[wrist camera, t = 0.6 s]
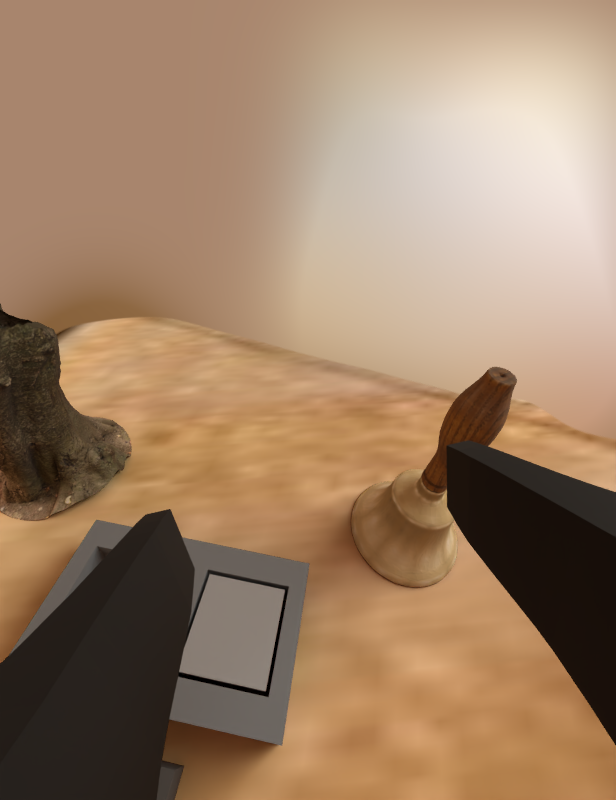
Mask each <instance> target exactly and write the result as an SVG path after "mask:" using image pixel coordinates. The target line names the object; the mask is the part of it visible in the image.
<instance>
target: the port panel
mask: <svg viewBox="0 0 616 800" xmlns="http://www.w3.org/2000/svg"><path fill="white" fill-rule="evenodd" d="M132 528H133V527H129V526H124V525H119V524H115V523H110V522H105V521H100V520H96V521H95V523H94V524H93V526H92V527H91V529H90V530H89V532H88V533H87V535H86V536H85V538H84V540H83V541H82V543H81V544H80V546H79V547H78V549H77V550H76V552H75V554H74V555H73V557H72V558H71V560H70V561H69V563H68V564H67V566H66V568H65V569H64V571H63V572H62V574H61V575H60V577H59V578H58V580H57V581H56V583H55V585H54V586H53V588H52V589H51V591H50V592H49V594H48V595H47V597H46V599H45V600H44V602H43V603H42V605H41V606H40V608H39V609H38V611H37V613H36V614H35V616H34V617H33V619H32V620H31V622H30V623H29V625H28V626H27V628H26V630H25V631H24V633H23V634H22V636H21V637H20V639H19V640H18V642H17V644H16V645H15V647H14V648H13V650H12V651H11V653H12V652H13V651H14V650H15V649H16V648H17V647H18V646H19V645H20V644H21V643H22V642H23V641H24V640H25V639H26V638H27V637H28V636H29V635H30V634H31V633H32V632H33V631H34V630H35V629H36V628H37V627H38V626H39V625H40V624H41V623H42V622H43V621H44V620H45V619H46V618H47V617H48V616H49V615H50V614H51V613H52V612H53V611H54V610H55V609H56V608H57V607H58V606H59V605H60V604H61V603H62V602H63V601H64V600H65V599H66V598H67V597H68V596H69V595H70V594H71V593H72V592H73V591H74V590H75V589H76V588H77V587H78V586H79V584H80V583H81V582H82V581H83V580H84V579H85V578H86V577H87V576H88V575H89V574H90V573H91V572H92V571H93V570H94V568H95V567H96V566H97V565H98V564H99V563H100V562H101V561H102V560H103V559H104V558H105V557H106V556H107V554H108V553H109V552H110V551H111V550H112V549H113V548H114V547H115V546H116V545H117V544H118V543H119V541H120V540H121V539H122V538H123V537H124V536H125V535H126V534H127V533H128V532H129V531H130V530H131V529H132ZM182 539H183V541H184V544H185V546H186V548H187V551H188V553H189V556H190V558H191V560H192V563H193V565H194V568H195V575H194V588H193V599H192V610H191V616H190V621H189V626H188V631H187V636H186V641H185V646H184V651H183V656H182V661H181V665H180V670H179V675H178V680H177V684H176V689H175V694H174V699H173V704H172V708H171V713H170V718H169V719H170V720H174V721H179V722H183V723H187V724H191V725H196V726H200V727H204V728H209V729H213V730H217V731H222V732H226V733H230V734H235V735H239V736H243V737H247V738H252V739H256V740H260V741H265V742H269V743H273V744H278V745H282V743H283V736H284V729H285V723H286V716H287V710H288V703H289V696H290V690H291V683H292V676H293V670H294V663H295V656H296V650H297V643H298V636H299V630H300V623H301V617H302V610H303V603H304V597H305V590H306V583H307V577H308V570H309V563H304V562H299V561H294V560H289V559H284V558H280V557H275V556H270V555H265V554H260V553H255V552H250V551H246V550H241V549H236V548H231V547H226V546H221V545H217V544H212V543H207V542H202V541H197V540H192V539H187V538H183V537H182ZM283 600H286V606H285V611H284V616H283V622H282V627H281V633H280V638H279V644H278V649H277V655H276V660H275V665H274V671H273V676H272V682H271V687H270V693H269V697H265V696H261V695H256V694H252V693H247V692H243V691H239V690H234V689H230V688H225V687H221V686H217V685H212V684H208V683H203V682H199V681H194V680H190V679H186V678H182V676H183V674H187V675H192V676H196V677H201V678H205V679H209V680H214V681H218V682H223V683H227V684H232V685H236V686H240V687H245V688H249V689H254V690H258V691H263V692H266V687H267V682H268V677H269V672H270V666H271V661H272V656H273V651H274V645H275V640H276V635H277V630H278V624H279V619H280V614H281V609H282V603H283ZM11 653H10V654H11ZM10 654H9V655H10Z"/></svg>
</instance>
